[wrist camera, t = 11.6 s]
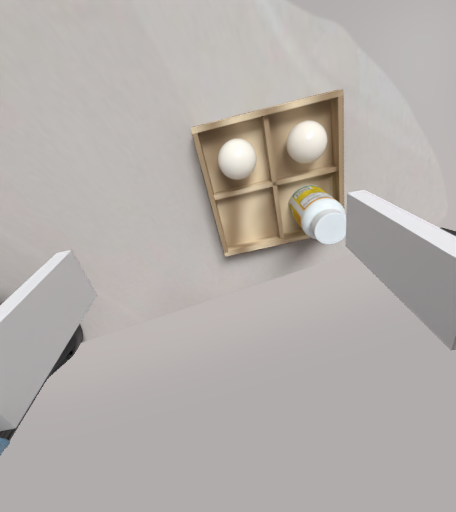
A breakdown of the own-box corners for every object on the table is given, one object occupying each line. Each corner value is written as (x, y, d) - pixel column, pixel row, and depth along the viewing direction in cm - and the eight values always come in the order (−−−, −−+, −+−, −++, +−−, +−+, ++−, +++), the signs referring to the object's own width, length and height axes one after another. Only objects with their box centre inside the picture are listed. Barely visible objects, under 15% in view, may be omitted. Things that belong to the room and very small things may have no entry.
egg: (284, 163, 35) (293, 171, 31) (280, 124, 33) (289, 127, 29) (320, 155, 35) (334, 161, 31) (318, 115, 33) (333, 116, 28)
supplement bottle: (296, 179, 36) (320, 200, 28) (331, 188, 37) (364, 212, 29) (282, 215, 39) (301, 244, 31) (315, 223, 40) (342, 253, 31)
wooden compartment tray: (224, 247, 42) (225, 256, 39) (192, 127, 33) (190, 128, 31) (335, 222, 41) (344, 230, 38) (332, 90, 32) (343, 89, 29)
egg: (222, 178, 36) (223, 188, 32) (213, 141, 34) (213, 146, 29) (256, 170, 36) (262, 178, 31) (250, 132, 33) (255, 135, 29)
